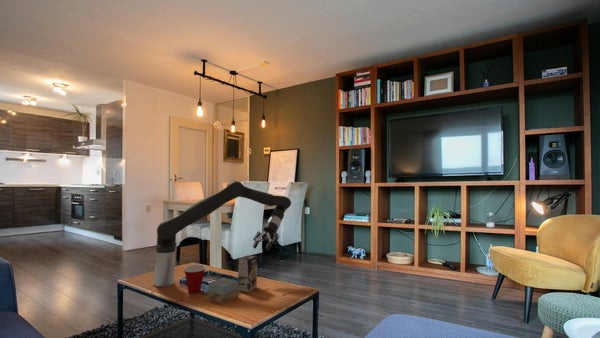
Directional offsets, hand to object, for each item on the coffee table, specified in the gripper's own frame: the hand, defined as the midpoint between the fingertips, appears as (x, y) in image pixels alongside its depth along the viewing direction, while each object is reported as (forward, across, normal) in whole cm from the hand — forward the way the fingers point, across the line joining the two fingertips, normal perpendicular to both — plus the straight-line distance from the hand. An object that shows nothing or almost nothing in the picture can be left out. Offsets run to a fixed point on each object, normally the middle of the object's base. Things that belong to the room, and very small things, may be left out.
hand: (260, 248), depth 172 cm
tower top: (+30, -1, -9) cm, 31 cm away
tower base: (+33, -1, -6) cm, 34 cm away
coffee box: (+21, 0, +6) cm, 22 cm away
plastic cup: (+33, -20, -6) cm, 39 cm away
